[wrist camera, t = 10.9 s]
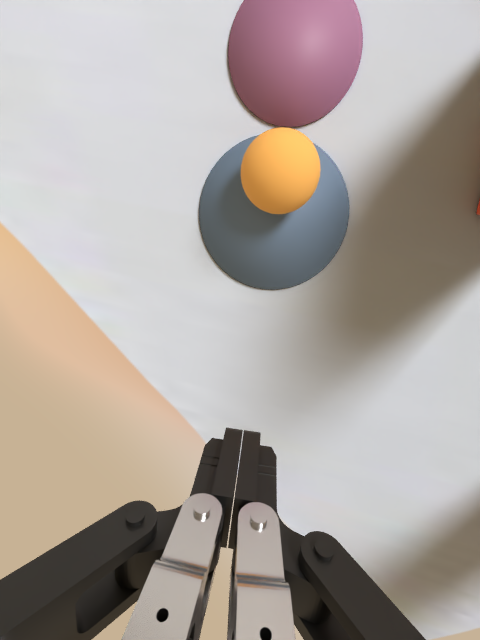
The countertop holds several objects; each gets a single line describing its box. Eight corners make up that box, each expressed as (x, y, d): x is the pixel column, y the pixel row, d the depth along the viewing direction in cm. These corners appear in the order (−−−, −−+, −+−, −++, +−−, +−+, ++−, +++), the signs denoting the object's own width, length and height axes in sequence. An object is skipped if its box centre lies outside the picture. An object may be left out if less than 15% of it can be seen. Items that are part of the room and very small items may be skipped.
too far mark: (376, -28, 23) (377, -30, 23) (346, 132, 27) (346, 132, 26) (235, -37, 24) (235, -39, 24) (223, 120, 27) (222, 120, 27)
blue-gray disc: (364, 141, 27) (364, 141, 26) (332, 297, 31) (332, 297, 31) (204, 125, 27) (204, 125, 27) (195, 279, 32) (194, 280, 32)
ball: (342, 144, 22) (305, 232, 24) (326, 142, 27) (298, 215, 30) (254, 112, 21) (227, 206, 24) (255, 117, 26) (233, 193, 29)
